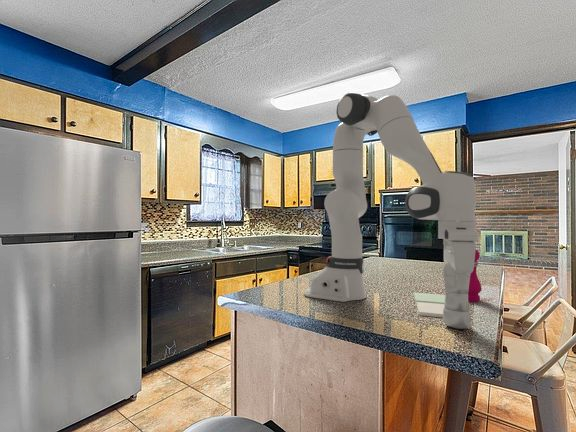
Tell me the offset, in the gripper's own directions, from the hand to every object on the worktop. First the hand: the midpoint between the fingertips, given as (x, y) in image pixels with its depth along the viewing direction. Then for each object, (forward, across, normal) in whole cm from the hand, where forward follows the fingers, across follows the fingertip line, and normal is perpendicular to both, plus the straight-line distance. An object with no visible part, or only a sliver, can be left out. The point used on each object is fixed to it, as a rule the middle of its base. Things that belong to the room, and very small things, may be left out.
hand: (456, 285), depth 82 cm
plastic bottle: (+11, 0, 0) cm, 11 cm away
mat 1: (+11, -28, -2) cm, 30 cm away
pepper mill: (+11, -34, +10) cm, 37 cm away
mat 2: (+11, -14, -2) cm, 18 cm away
